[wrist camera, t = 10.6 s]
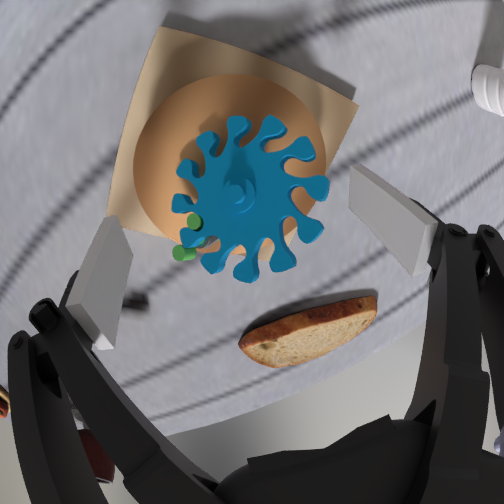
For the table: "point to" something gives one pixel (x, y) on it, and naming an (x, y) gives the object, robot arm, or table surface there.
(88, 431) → the mate gourd
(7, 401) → the wooden plate with food
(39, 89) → the table surface
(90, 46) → the table surface
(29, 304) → the table surface
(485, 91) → the water bottle
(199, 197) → the gear
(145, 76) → the bread on wooden board
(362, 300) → the slice of bread
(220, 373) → the table surface
